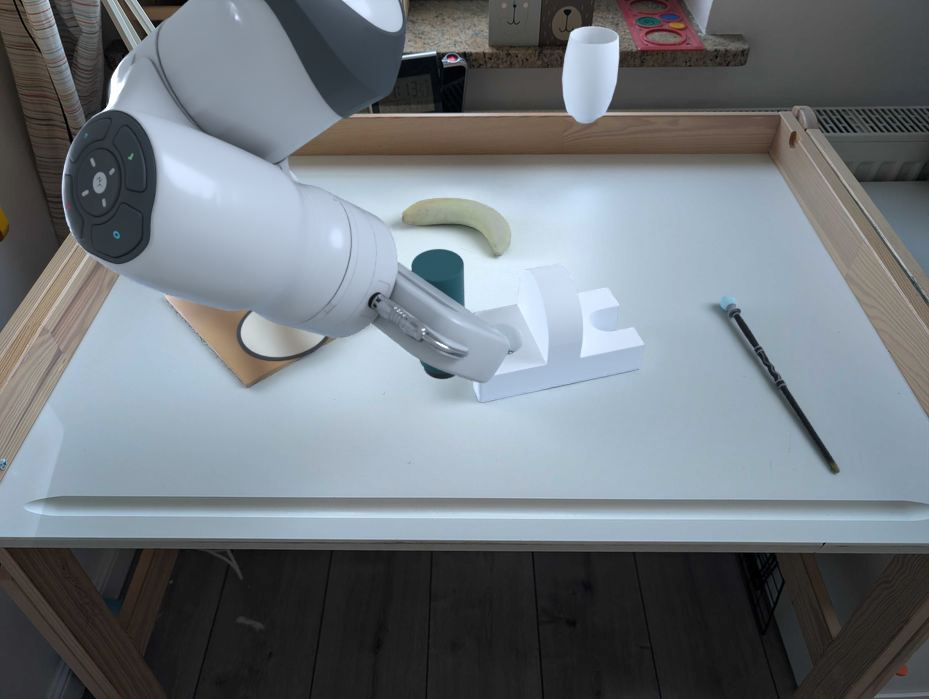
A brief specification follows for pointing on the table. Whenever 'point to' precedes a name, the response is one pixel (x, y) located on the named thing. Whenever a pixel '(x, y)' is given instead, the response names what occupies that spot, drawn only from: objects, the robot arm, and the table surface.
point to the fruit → (462, 218)
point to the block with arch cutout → (558, 336)
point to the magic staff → (775, 375)
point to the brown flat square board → (247, 339)
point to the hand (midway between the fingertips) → (445, 310)
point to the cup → (590, 72)
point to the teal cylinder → (441, 284)
